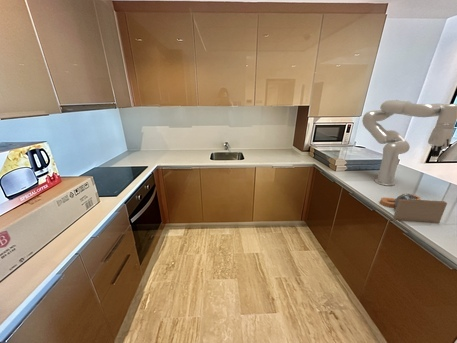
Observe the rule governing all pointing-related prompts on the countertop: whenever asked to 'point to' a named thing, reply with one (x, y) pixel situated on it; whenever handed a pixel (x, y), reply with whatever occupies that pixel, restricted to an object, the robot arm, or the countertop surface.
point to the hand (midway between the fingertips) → (434, 156)
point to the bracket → (391, 201)
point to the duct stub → (418, 209)
